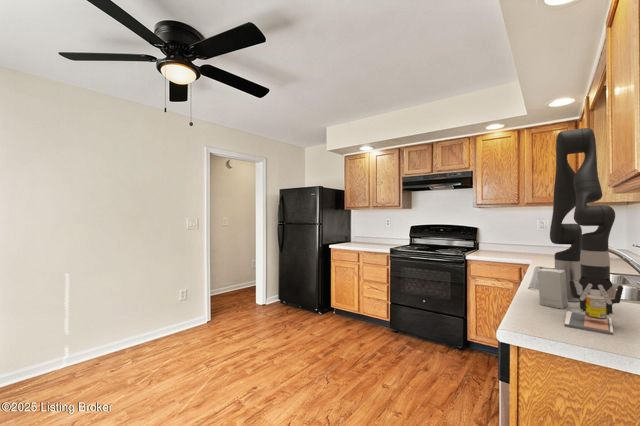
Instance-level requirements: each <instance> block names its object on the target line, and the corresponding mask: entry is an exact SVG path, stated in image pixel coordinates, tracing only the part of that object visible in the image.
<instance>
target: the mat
mask: <svg viewBox="0 0 640 426" xmlns="http://www.w3.org/2000/svg"><path fill="white" fill-rule="evenodd" d="M563 326H564V327H567V328H570V329H571V328H572V329H578V330H584V331H589V332H593V333H594V332H595V333H598V334H604V335H610V336H613V335H614V328H613V327H614V326H613V322H612V317H607V320H605V321H597V320H592V319H589V318H587V317H586V315H585V314H584V313H577V312H572V311H569V310H568V311H567V313H566V315H565V320H564V325H563Z"/></svg>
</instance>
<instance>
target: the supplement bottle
mask: <svg viewBox="0 0 640 426" xmlns="http://www.w3.org/2000/svg"><path fill="white" fill-rule="evenodd" d="M584 313H585V315H586V317H587V318H589V319H592V320H597V321H605V320H607V318H608V315H607V301H606V298H604V296H603V295H602V293H601V291H600V290H595V289H590V291H589V292H588V294H587V296H586V297H585V312H584Z"/></svg>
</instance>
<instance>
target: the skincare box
mask: <svg viewBox="0 0 640 426" xmlns="http://www.w3.org/2000/svg"><path fill="white" fill-rule="evenodd" d="M537 280H538V281H537V283H538V293H539V294H538V295H539V297H538V298H539V305H540V306H546V307H552V308H557V309H562V310H563V309H565V308H568V306H569V303H568V302H569V301H568V299H567V286H566V273H565V270H555V268H554V269H553V268H544V267H543V268H541V269H538V270H537Z"/></svg>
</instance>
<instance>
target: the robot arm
mask: <svg viewBox="0 0 640 426" xmlns="http://www.w3.org/2000/svg"><path fill="white" fill-rule="evenodd" d="M555 141H556V142H555V174H554V175H555V178H554V185H553V198H552V199H553V207H552V216H551V217H552V218H551V220H550V221H551V223H550V229H549V239H550V241H551V243H552V244H554V245H570V247H568V248H566V249H564V250H562V251H561V250H560V251H556V252H555V253H554V256H553V257H554V270H565V273H566V286H567V299H568V302H573V303H575V302H576V303H577V302H579V308H580V310H582V312H584V313H585V297H586V296H587V294H588V292H589V291H590V289H595V290H600V291H601V293H602V295H603V296H604V298H606V301H607V316H610V315H612V314H613V305H614V304H620V302H621V300H622V294H623V291H624V286H623V285H622V284H616V283H613V282H612V281H611V259H610V253H609V251H610V250H609V238H610V234H611V231H612V228H613V225H614V223H615V219H616V211H615V210H614V208H613V207H611V206H610V205H608V204H607V205H605V204H603V205H601V204H600V205H588V204H591V203H594V202H598V201H599V200H601V199H602V198H603V190H602V187H601V183H600V178H599V174H598V172H599V171H598V157H597V156H598V155H597V153H598V152H597V143H596V142H597V141H596V136H595V133H594V131H593V129H592V128H591V127H583V128H574V129H567V130H562V131H561V130H560V131H559V132H558V134H557V136H556V140H555ZM575 154H584V159H583V162H582V163H581V164H580V167H579V168H578V169H577V171H576V172H575V171H574V170H573V168H572V166H571V165H570V163H569V162H568V160H569V159H568V155H575ZM573 209H574V212H573V220H574V222H575V223H563V222H564V219H565V218H566V216H567V215H568V214H569V213H571V211H572V210H573ZM581 226H582V227H597V228H596V230H594V231H591V232H585V233H583V231H582V230H583V229H582V227H581ZM583 288H584V290H583ZM611 288H613V290H614V292H615V295H614V298H611V297H610V295H609V293H608V291H609V290H610V289H611Z"/></svg>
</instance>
